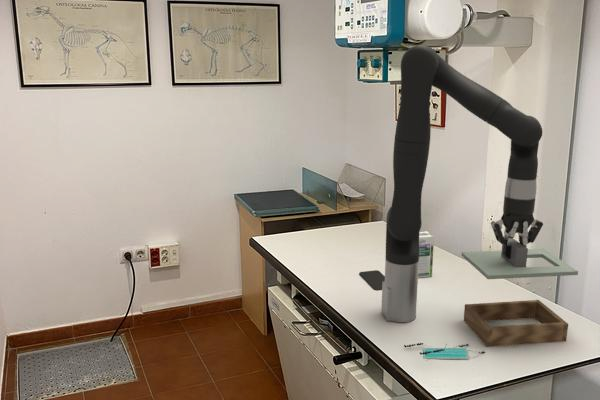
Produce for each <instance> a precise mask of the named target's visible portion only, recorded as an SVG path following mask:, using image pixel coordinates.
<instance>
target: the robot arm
mask: <svg viewBox="0 0 600 400" xmlns="http://www.w3.org/2000/svg"><path fill="white" fill-rule="evenodd" d="M432 87H434V88H436V89H438V90H439V91H442V92H443V93H444V94H446V95H448V96H449V97H451V98H452V99H453V100H454V101H455V102H457V103H458V104H459V105H460V106H462V108H464V109H466V110H467V111H468V112H470V113H471V114H473V115H474V116H475V117H477V118H478V119H480V120H481V121H484V122H485V123H487V124H488V125H490V126H492V127H494V128H496V129H497V130H498V131H499V132H500V133H502V134H503V135H504V136H506V137H507V138H508V139H510V154H509V155H510V156H509V159H508V166H507V176H506V177H507V178H506V181H505V187H504V196H503V197H504V198H503V205H502V206H503V209H502V211H503V213H502V215H501V218H500V219H499V220H496V221H493V220H492V221H491V222H490V225H491V228H492V230H493V233H494V236H495V240H496V241H497V242H498V243H500V244H501V245H502V244H503V255H504V257H505V258H506V259H510V256H511V243H512V239H515V235H516V234H517V236H518V242H519V243H520V244H522V245H523V246H525V247H526V248H527V245H528V244H530V243H531V244H532V243H534V242H535V241H536V239H537V237H538V235H539V233H540V231H541V230H542V227H543V226H544V223H543V222H542V221H541V220H539V219H535V218H534V213H535V205H536V197H537V196H536V195H537V188H538V186H537V177H538V167H539V160H538V159H539V158H538V153H539V151H538V150H539V145H540V140H541V139H542V136H543V128H542V125H541V123H540V121H539V119H537V118H536V117H534V116H531V115H528V114H526V113H524V112H522V111H521V110H519V109H516V107H514V106H513V105H512V104H511V103H510V102H508V101H507V100H506V99H504V98H503V97H502V96H500V95H498V94H496V93H495V92H493V91H491V90H490V89H488V88H486V87H485V86H484V85H481V84H479V83H477V82H476V81H474V80H472V79H471V78H469V77H467V76H466V75H464V74H462V73H461V72H459V71H458V70H457V69H456V68H454V67H453V66H451V65H450V64H449V63H448V62H446V61H445V59H444V58H442V57H441V55H439V54H438V53H437V52H436V50H435V49H434V48H432V47H430V46H429V45H425V44H423V45H421V44H417V45H414V46H412V47H409V48H408V49H407V50H406V51H405V52H404V54H403V55H402V57H401V60H400V103H399V109H398V114H397V120H396V121H397V122H396V127H395V133H394V141H393V142H394V143H393V154H392V156H393V157H392V158H393V160H392V165H393V168H392V169H393V173H392V174H393V195H392V201H391V206H390V208H388V210H387V214H386V224H385V225H386V228H385V230H386V233H385V266H384V276H385V281H383V282H382V290H381V307H380V308H381V309H380V311H381V313H382V315H383V317H384V318H385V319H384V320H386V322H387V321H388V322H395V323H408V322H409V323H410V322H412V321H414V320H415V319H416V316H417V302H418V301H417V298H418V284H419V283H418V281H419V280H418V279H419V278H418V266H419V232H421V228H422V195H423V194H422V193H423V192H422V191H423V187H424V181H425V178H426V177H425V176H426V173H427V167H428V161H429V155H430V144H431V131H432V130H431V114H430V110H431V109H430V104H431V103H430V102H431V101H430V100H431V94H432V89H433V88H432ZM503 227H504V230H503V232H502V229H503Z"/></svg>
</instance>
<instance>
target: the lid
mask: <svg viewBox="0 0 600 400" xmlns="http://www.w3.org/2000/svg"><path fill="white" fill-rule="evenodd" d="M461 257H463V259H465V260H466V261H467V262H468V263H469V264H470V265H471V266H472V267H473V268H474V269H475V270H477V271H478V272H479V273H480V274H481V275H482V276H484V277H485V278H486V280H502V279H525V278H542V277H543V278H544V277H545V278H546V277H562V276H563V277H564V276H567V277H568V276H578V275H579V271H578V270H577V269H575V268H574V267H572V266H571V265H569V264H567V262H565V261H563V260H562V259H560V258H559V257H558V256H555V255H554V254H553V253H551V252H549V251H548V250H546V249H544V248H531V249H530V248H528V247H527V246H526V247H525V246H523V245H522V244H520V242H519V240H516V239H515V238H513V239H512V243H511V256H510V259H506V258H505V257H504V255H503V244H501V250H484V251H483V250H482V251H480V250H479V251H462V252H461ZM537 258H540V259H541V258H542V259H544V260H545V261H546V262H547V263H549V264H551V265H553V266H532V267H530V266H529V267H528V266H527V261H528V260H527V259H537Z"/></svg>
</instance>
